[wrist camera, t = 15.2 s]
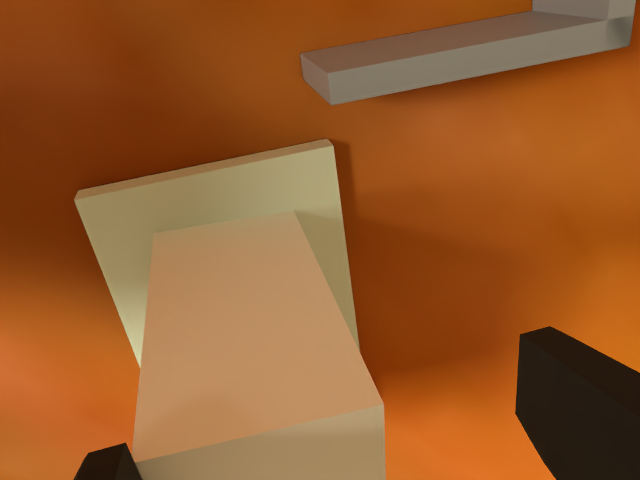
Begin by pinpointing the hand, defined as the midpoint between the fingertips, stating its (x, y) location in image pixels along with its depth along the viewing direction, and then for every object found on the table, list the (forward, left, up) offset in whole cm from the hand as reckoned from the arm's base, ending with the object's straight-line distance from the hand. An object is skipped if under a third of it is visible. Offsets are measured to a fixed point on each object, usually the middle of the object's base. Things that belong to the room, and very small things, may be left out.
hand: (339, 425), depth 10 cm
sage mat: (-2, -4, -10) cm, 11 cm away
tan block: (-2, -4, -9) cm, 10 cm away
